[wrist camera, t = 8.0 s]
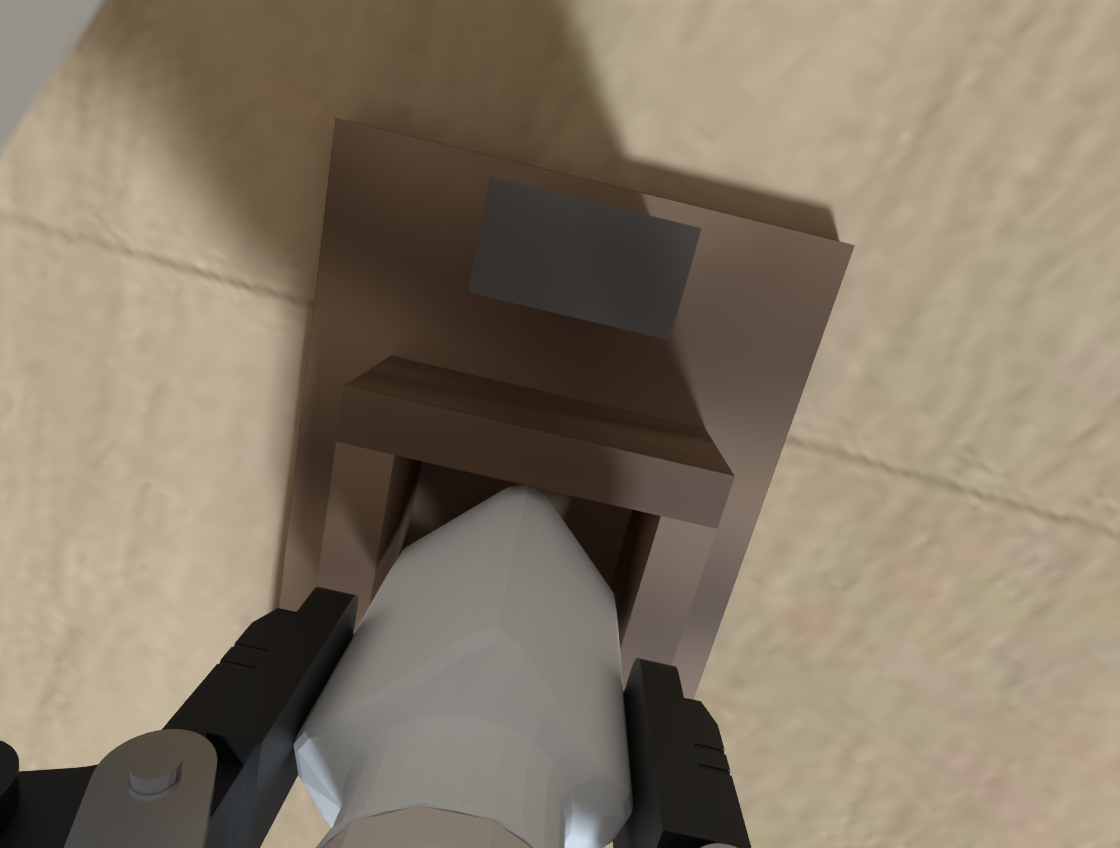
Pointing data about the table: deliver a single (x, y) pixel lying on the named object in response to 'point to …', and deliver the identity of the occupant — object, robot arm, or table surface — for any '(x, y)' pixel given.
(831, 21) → the table surface
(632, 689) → the robot arm
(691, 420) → the shaker holder
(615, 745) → the pepper shaker
